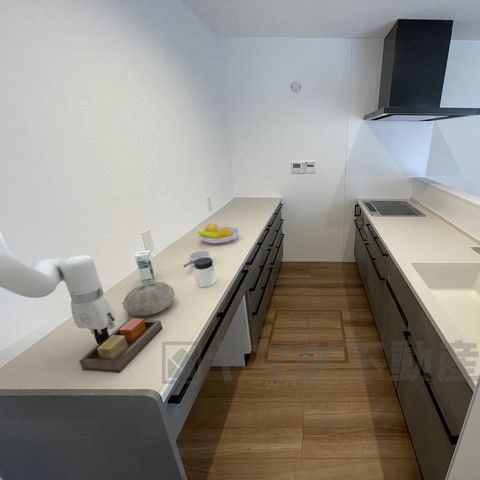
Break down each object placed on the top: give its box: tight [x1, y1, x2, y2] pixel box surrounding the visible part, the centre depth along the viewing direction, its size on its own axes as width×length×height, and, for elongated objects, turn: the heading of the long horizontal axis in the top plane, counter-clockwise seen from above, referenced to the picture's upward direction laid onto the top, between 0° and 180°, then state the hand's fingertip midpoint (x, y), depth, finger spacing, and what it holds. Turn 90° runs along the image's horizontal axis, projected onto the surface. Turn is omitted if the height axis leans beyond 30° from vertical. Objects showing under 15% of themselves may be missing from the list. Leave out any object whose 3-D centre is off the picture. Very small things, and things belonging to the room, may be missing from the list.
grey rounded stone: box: [122, 281, 175, 317], centre depth 107 cm, size 18×18×10 cm
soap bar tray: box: [78, 318, 163, 374], centre depth 87 cm, size 12×20×6 cm, turn 176°
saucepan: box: [182, 250, 212, 268], centre depth 143 cm, size 12×20×6 cm, turn 173°
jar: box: [193, 257, 217, 288], centre depth 126 cm, size 9×8×12 cm
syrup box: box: [134, 250, 157, 283], centre depth 128 cm, size 6×6×14 cm
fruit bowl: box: [194, 223, 240, 244], centre depth 181 cm, size 28×27×11 cm
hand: (103, 341), depth 88 cm, fingers closed
